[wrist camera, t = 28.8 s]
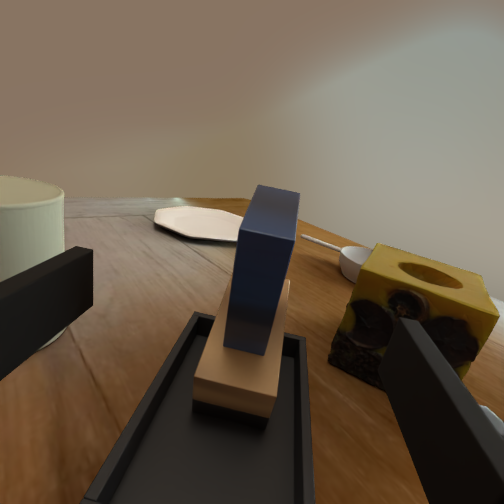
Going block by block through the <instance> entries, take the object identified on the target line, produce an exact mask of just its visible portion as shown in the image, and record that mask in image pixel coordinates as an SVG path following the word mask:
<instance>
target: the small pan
mask: <svg viewBox="0 0 504 504" xmlns="http://www.w3.org/2000/svg"><path fill="white" fill-rule="evenodd" d="M301 238H303V239H306V240H308V241H311V242H314V243H316V244H319V245H322V246H324V247H327V248H330V249H332V250H335V251H338V252H340V257H339V262H340V267H341V270H342V273H343V275H344V276H345V277H346V278H347V279H349V280H351V281H352V282H354V283H356V281H357V276H358V274H359V271H360V269H361V266H362V264H363V263H364V262H365V261H366V260H367V258H368V257H369V256H370V254H371V253H372V251H373V250H372V249H368V248H362V247H354V246H348V247H343V248H339V247H336V246H334V245H331V244H328V243H326V242H323V241H320V240H318V239H315V238H312V237H310V236H307V235H304V234H302V235H301Z"/></svg>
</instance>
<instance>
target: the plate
mask: <svg viewBox="0 0 504 504" xmlns="http://www.w3.org/2000/svg"><path fill="white" fill-rule="evenodd" d="M242 220H243V217H240V216H237V215H234V214H231V213H228V212H225V211H222V210H216V209H208V208H200V207H191V206H180V207H171V208H163V209H158V210H156V213H155V217H154V223H155V224H156V225H158V226H161V227H163V228H165V229H168V230H170V231H173V232H175V233H177V234H180V235H182V236H185V237H188V238H193V239H203V240H214V241H225V242H237V238H238V231H239V227H240V225H241V223H242Z"/></svg>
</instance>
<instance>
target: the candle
mask: <svg viewBox="0 0 504 504" xmlns="http://www.w3.org/2000/svg"><path fill="white" fill-rule="evenodd" d="M399 317H402V318H406V319H411V320H415V321H418V322H419V323H420V324H421V326H422V327H423V329H424V330H425V331H426V333H427V334H428V335H429V337H430V338H431V340H432V341H433V342H434V344H435V345H436V346H437V348H438V349H439V351H440V352H441V353H442V355H443V356H444V358H445V359H446V360H447V362H448V363H449V364H450V366H451V367H452V369H453V370H454V371H455V373H456V374H457V375H458V377H459V378H460V380H461V381H462V379H463V377H464V376H465V374H466V373H467V372H468V370H469V367H470V365H471V362H473V361H474V360H475V358H476V356H477V355H478V354H479V352H480V350H481V349H482V347H483V345H484V344H485V342H486V341H487V339H488V337H489V335H490V334H491V332H492V330H493V328H494V326H495V324H496V323H497V321H498V319H499V317H500V315H499V312H498V310H497V308H496V307H495V305H494V304H493V302H492V300H491V299H490V296H489V294H488V292H487V290H486V288H485V286H484V282H483V279H482V276H481V275H478V274H476V273H473V272H470V271H466V270H463V269H460V268H457V267H453V266H450V265H447V264H444V263H441V262H438V261H434V260H431V259H428V258H425V257H421V256H418V255H415V254H412V253H409V252H406V251H403V250H400V249H396V248H393V247H390V246H386V245H383V244H380V243H377V244H376V246H375V248H374V249H373V251H372V253H371V254H370V256H369V257H368V258H367V260H366V261H365V262H364V263H363V264H362V266H361V269H360V271H359V274H358V276H357V281H356V285H355V287H354V289H353V292H352V296H351V298H350V301H349V303H348V304H347V306H346V312H345V314H344V317H343V319H342V322H341V324H340V326H339V328H338V330H337V333H336V334H335V336H334V339H333V341H332V344H331V353H330V354H329V355H328V361H329V362H330V363H332V364H333V365H336V366H338V367H340V368H342V369H344V370H345V371H347V372H349V373H351V374H354V375H356V376H358V377H360V378H362V379H364V380H365V381H366V382H368V383H370V384H372V385H374V386H376V387H379V388H381V389H383V390H385V388H384V386H383V383H382V380H381V378H380V375H379V373H378V368H379V365H380V363H381V361H382V358H383V356H384V353H385V351H386V348H387V346H388V343H389V341H390V339H391V336H392V334H393V331H394V329H395V326H396V324H397V321H398V319H399Z"/></svg>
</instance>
